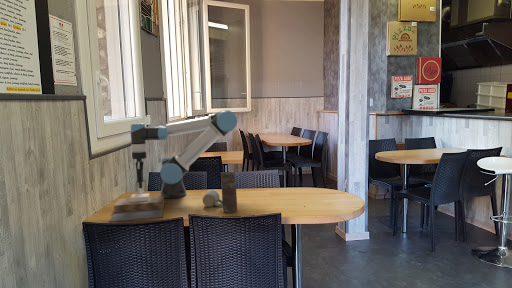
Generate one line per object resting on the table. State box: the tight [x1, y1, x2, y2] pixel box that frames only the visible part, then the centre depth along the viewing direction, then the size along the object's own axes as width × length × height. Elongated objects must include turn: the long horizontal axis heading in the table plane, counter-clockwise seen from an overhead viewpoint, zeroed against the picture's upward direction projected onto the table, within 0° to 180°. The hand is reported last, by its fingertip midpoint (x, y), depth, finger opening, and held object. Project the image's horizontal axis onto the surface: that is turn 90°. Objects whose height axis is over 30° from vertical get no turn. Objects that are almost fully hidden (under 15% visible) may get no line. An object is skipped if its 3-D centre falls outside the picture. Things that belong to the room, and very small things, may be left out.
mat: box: [108, 208, 164, 223], centre depth 178 cm, size 24×14×1 cm, turn 102°
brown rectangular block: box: [220, 171, 238, 214], centre depth 181 cm, size 8×7×20 cm
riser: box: [113, 195, 165, 214], centre depth 192 cm, size 24×14×4 cm, turn 102°
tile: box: [129, 192, 151, 202], centre depth 194 cm, size 9×8×2 cm
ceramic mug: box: [202, 189, 223, 208], centre depth 193 cm, size 11×8×8 cm
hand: (141, 193), depth 202 cm, fingers closed
